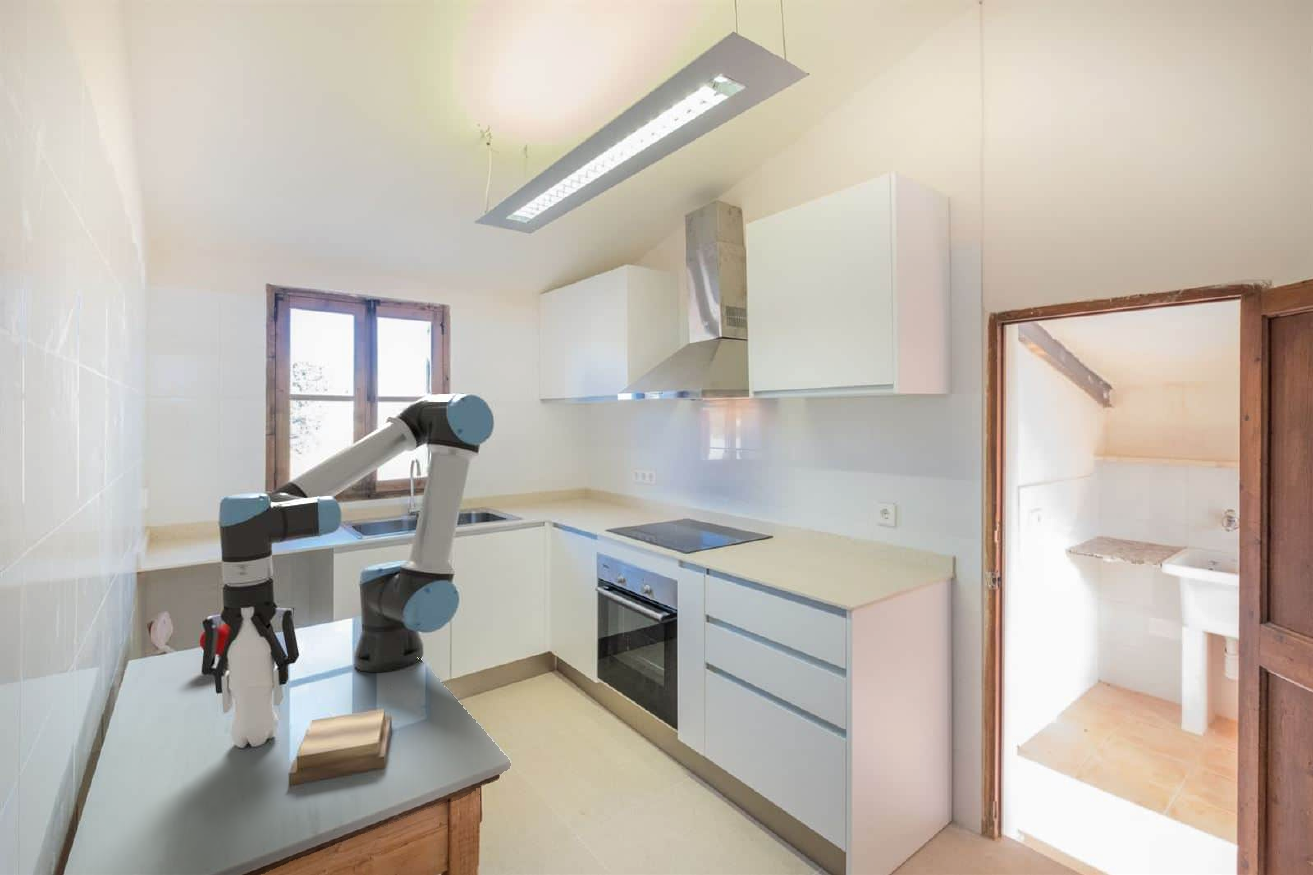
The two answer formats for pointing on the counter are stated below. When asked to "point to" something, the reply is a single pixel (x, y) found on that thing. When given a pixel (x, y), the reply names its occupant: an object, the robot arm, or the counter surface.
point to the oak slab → (342, 738)
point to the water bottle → (251, 685)
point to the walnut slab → (343, 763)
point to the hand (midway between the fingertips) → (253, 705)
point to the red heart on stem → (218, 639)
